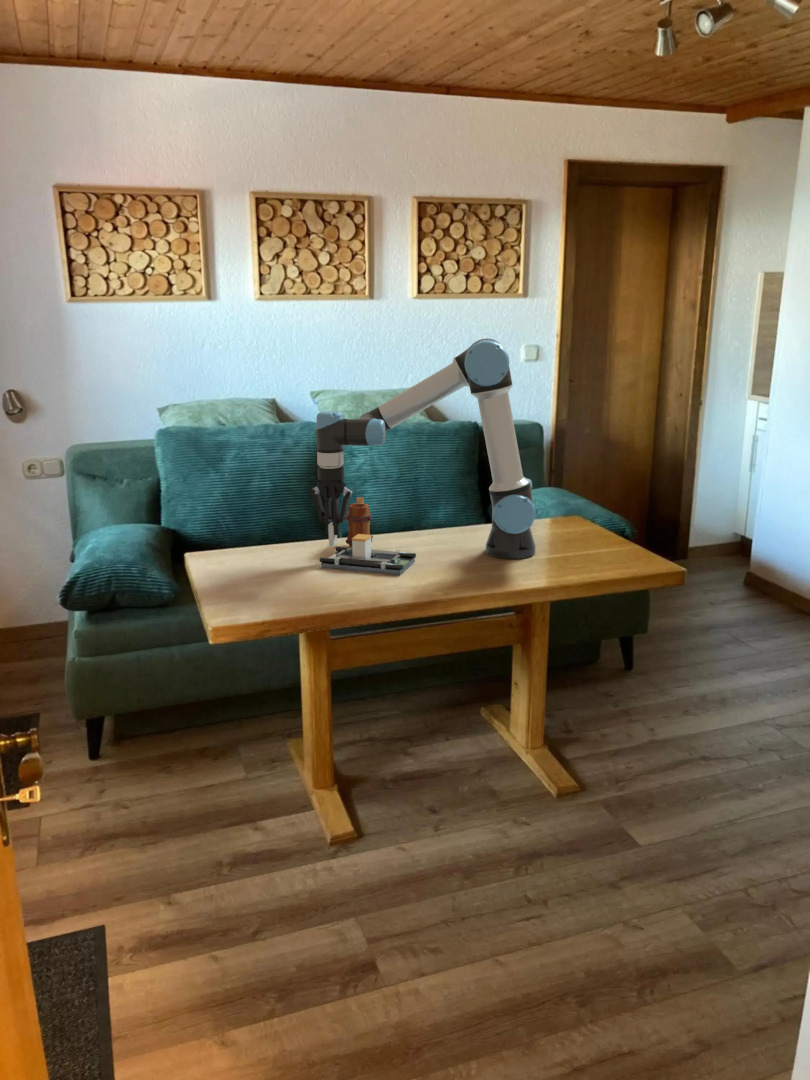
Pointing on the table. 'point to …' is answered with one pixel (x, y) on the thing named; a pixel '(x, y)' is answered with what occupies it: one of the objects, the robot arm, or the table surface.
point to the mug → (358, 520)
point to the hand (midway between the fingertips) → (333, 545)
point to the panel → (369, 569)
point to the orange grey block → (361, 546)
